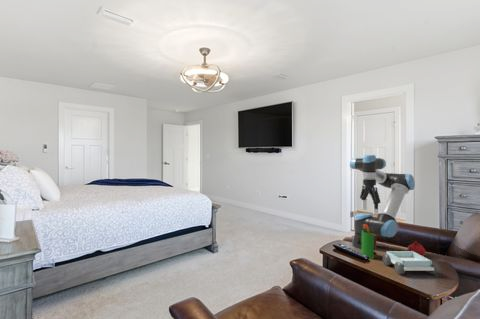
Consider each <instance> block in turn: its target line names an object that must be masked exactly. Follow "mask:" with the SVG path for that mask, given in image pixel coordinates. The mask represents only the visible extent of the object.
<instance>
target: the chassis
mask: <svg viewBox="0 0 480 319" xmlns="http://www.w3.org/2000/svg"><path fill="white" fill-rule="evenodd" d="M385 253H386V254H385ZM385 253H384V254H382V263H383V265H385V266H391V265H392V264H393V265H394V270H395V272H396V273H397V275H404V274H405V273H406V271H409V272H410V271H412V272H413V271H418V272H419V271H422V272H423V271H426V273H427V274H429V275H436V274H437V272H438V268H437V266H436V264H435V263H434V262H433V260H431V259H429V258H427V257H425V256H421V255H419V254H417V253H416V252H414V251H408V250H407V251H406V250H405V251H404V250H401V251H397V250H395V251H394V250H393V251H392V250H389V251H388V250H387V251H386V252H385Z"/></svg>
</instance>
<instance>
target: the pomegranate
mask: <svg viewBox="0 0 480 319" xmlns="http://www.w3.org/2000/svg"><path fill="white" fill-rule="evenodd" d="M407 251H414V252H416V253H417V254H419V255H421V256H423V257H425V255H426V252H427V251H426V249H425V247H423V245H422V243H420V242H418V241H417V240H414V241H412V242H411V243H410V244H409V245H408V246H407Z"/></svg>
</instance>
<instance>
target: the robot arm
mask: <svg viewBox="0 0 480 319" xmlns="http://www.w3.org/2000/svg"><path fill="white" fill-rule="evenodd" d="M349 166H350V169H354V170H358V171H360V172H362V178H363V179H362V184H363V185H362V187H361V192H360V196H359V198H360V199H361V210H362V211H367V209H368V208H367V206H368V205H367V203H368V202H367V198H368V196H369V195H370V197H371V200H372V202H373V203H372V213H357V214H355V215H354V235H353V238H352V240H351V241H352V242H351V245H352V246H353V247H355V248H358V249H361V250H362V230H367V229H366V228H363V225H368V227H369V230H373V231H374V234H376V235H377V236H380V237H384V238H385V237H387V238H393V237H395V235H396V234H397V233H398V225H399V224H398V222H397V219H396V217H397V214H398V212H399V209H400V207H401V204H402V202H403V201H404V197H405V196H406V195H407V194H408V193H409V191H413V190H414V189H415V186H416V185H415V182H416V181H415V177H414V176H413V175H412V174H410V173H393V172H391V173H390V172H389V173H387V172H384V171H380V170H383V169H385V167H386V166H387V161H386V160H385V159H384V158H381V157H376V155H374V154H368V155H367V154H366V155H363V156H362V158H361V157H360V158H359V157H358V158H357V157H356V158H352V159H350V162H349ZM377 184H378V185H380V186H382V187H385V188H388V189H391V191H390V193H389V195H388V197H387V200H386V201H385V203H384V204H385V205H384V207H383V209H382V211H381V212H379V204H381V199H380V195H379V191H378V187H375V186H376V185H377ZM374 215H377V216H374Z"/></svg>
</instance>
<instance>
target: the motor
mask: <svg viewBox="0 0 480 319" xmlns="http://www.w3.org/2000/svg"><path fill="white" fill-rule="evenodd" d="M363 228H366V229H367V230H362V249H361V253H362V254H364V255H366V256H368V257H369V258H370V260H374V259H377V258H378V254H377V252H375V251H376V250H377V241H378V240H377V236H378V235H376V234H374V231H373V230H369V227H368V225H363ZM369 258H368V259H369Z"/></svg>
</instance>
